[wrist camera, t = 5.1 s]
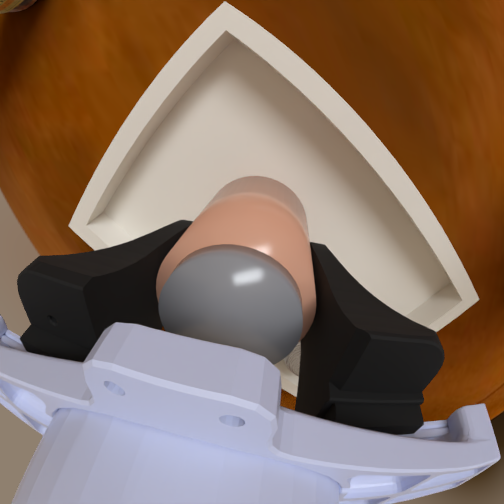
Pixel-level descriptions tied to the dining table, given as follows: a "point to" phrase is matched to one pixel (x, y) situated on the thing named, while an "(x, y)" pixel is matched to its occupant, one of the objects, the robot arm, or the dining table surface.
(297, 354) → the mixing ball
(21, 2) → the sauce bottle
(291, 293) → the shaker
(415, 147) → the dining table surface
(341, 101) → the dish
